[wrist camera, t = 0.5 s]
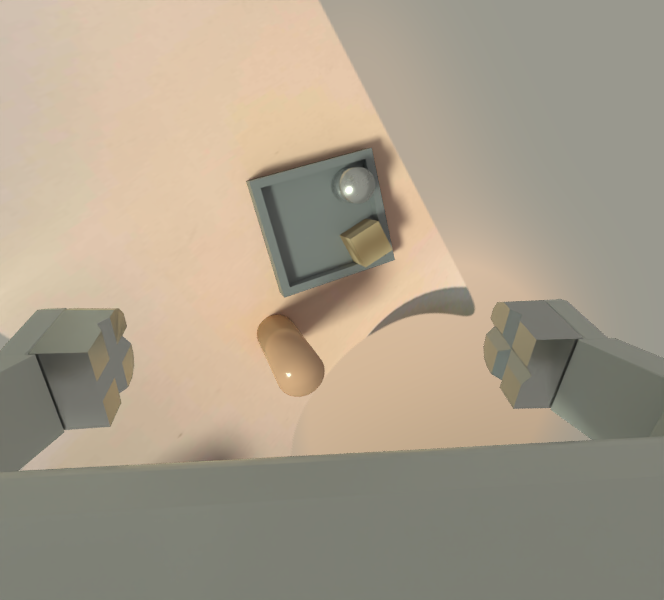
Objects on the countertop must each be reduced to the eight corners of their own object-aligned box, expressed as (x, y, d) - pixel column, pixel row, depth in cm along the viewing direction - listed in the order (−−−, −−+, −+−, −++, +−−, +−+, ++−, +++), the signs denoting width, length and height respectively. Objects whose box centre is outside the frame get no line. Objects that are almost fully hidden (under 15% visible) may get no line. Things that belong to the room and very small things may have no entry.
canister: (251, 322, 55) (270, 361, 43) (289, 309, 56) (317, 343, 44) (263, 357, 57) (284, 403, 45) (299, 343, 58) (329, 385, 46)
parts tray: (246, 181, 51) (249, 181, 48) (363, 149, 54) (371, 147, 52) (280, 292, 55) (284, 297, 53) (386, 256, 58) (394, 259, 56)
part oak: (339, 235, 55) (350, 239, 51) (365, 218, 55) (378, 221, 51) (353, 261, 56) (365, 267, 52) (379, 245, 57) (392, 249, 53)
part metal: (327, 173, 52) (338, 172, 49) (358, 164, 53) (371, 163, 49) (335, 206, 54) (347, 207, 50) (365, 197, 54) (378, 198, 51)
